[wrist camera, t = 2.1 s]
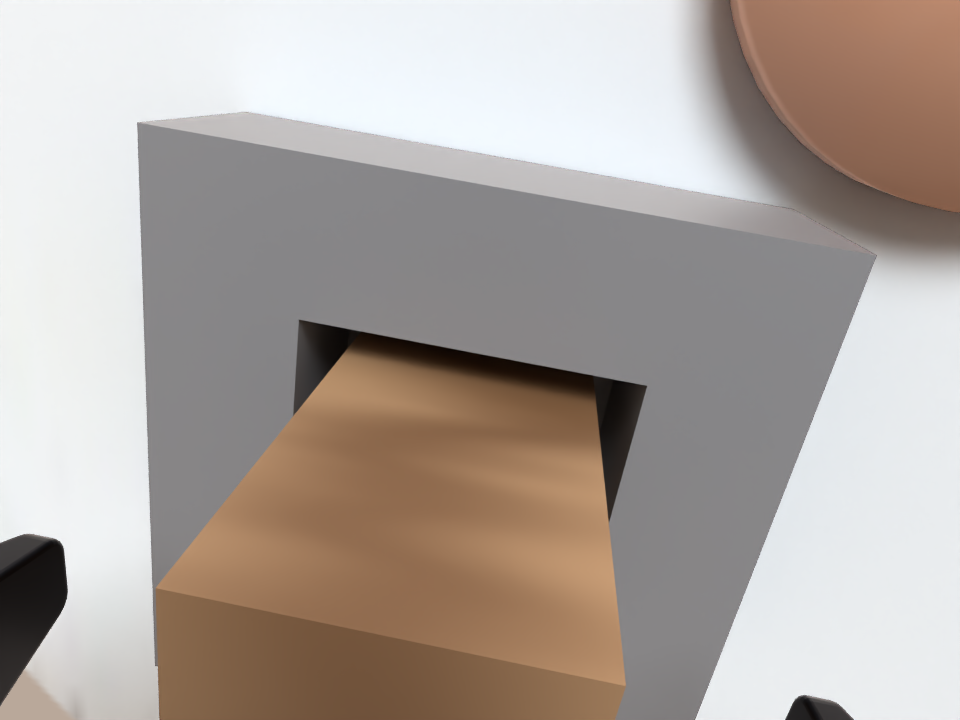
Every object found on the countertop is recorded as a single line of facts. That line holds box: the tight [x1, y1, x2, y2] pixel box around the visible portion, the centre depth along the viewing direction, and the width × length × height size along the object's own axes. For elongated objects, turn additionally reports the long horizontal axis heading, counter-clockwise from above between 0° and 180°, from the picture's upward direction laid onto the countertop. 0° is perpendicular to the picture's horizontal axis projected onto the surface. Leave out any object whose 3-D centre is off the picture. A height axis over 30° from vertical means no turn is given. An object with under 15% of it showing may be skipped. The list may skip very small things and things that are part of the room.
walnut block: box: [156, 331, 626, 720], centre depth 10 cm, size 4×4×8 cm
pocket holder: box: [137, 112, 877, 720], centre depth 13 cm, size 10×10×4 cm
